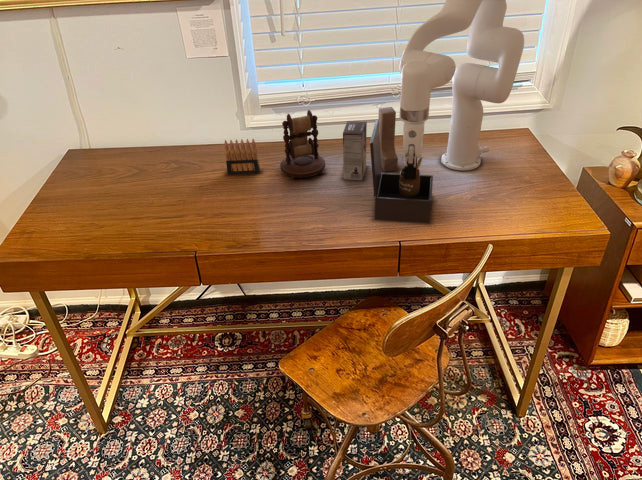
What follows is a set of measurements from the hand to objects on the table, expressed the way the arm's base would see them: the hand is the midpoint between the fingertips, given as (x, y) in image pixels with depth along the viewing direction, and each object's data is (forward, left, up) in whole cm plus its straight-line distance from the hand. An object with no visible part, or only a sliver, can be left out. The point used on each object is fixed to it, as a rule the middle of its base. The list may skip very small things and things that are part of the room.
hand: (410, 172), depth 153 cm
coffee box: (+4, -25, -12) cm, 28 cm away
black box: (+1, 0, -11) cm, 11 cm away
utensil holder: (0, 0, -6) cm, 6 cm away
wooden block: (-8, -25, -12) cm, 29 cm away
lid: (+8, -5, +4) cm, 10 cm away
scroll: (+18, -35, -12) cm, 41 cm away
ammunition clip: (+36, -43, -12) cm, 58 cm away
